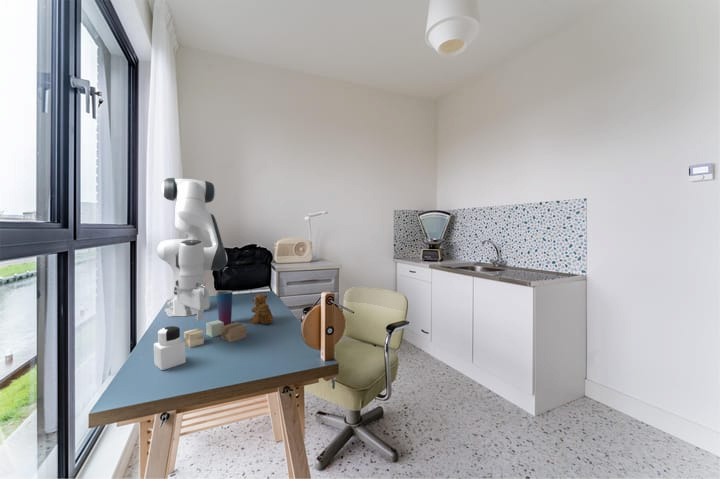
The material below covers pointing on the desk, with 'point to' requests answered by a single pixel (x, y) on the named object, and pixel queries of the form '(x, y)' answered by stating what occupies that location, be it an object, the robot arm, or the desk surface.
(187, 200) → the robot arm
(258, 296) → the brown teddy bear
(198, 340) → the oak cube
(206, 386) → the desk surface
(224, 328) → the walnut base
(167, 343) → the medicine bottle
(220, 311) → the cup
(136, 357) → the desk surface
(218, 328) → the sage cube
